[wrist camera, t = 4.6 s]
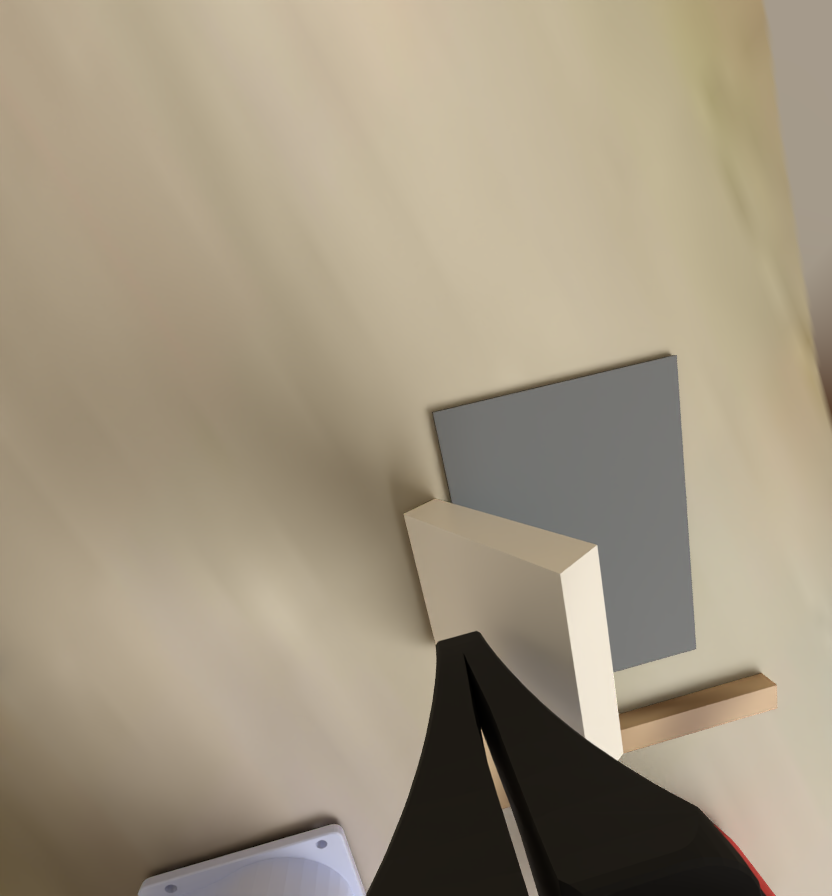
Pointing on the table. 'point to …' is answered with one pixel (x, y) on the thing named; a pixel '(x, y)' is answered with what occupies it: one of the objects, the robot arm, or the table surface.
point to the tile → (523, 608)
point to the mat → (592, 488)
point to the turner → (682, 716)
